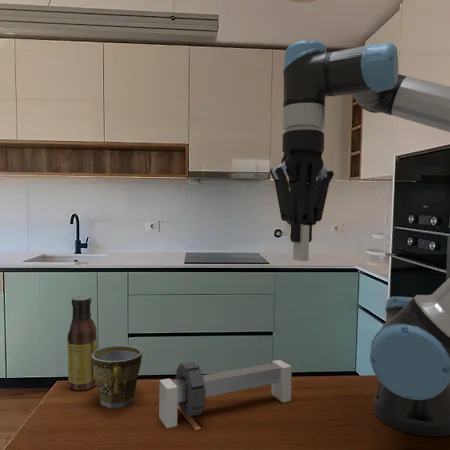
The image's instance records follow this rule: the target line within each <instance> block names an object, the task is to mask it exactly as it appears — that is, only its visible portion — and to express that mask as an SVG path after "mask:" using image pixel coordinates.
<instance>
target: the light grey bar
mask: <svg viewBox="0 0 450 450" xmlns="http://www.w3.org/2000/svg"><path fill="white" fill-rule="evenodd" d="M202 376H203V379H204V383H205V386H204V388H205V389H206V398H208V397H213V396H219V395H224V394H228V393H233V392H239V391H244V390H249V389H254V388H258V387H264V386H269V385H270V386H271V385H272V384H275V383H280V382H281V377H282V368H281V367H279V366H278V365H276V364H274V363H272V362H271V363H267V364H260V365H254V366H250V367H249V366H248V367H243V368H237V369H231V370H225V371H221V372H215V373H208V374H204V375H203V374H202ZM171 380H172V382H173V383H174V384H175V385H176V386H177V387H178V392H177V404H179V402H183V401H189V389H188V385H187V381H186V378H183V379H178V380H176V379H174V380H173V379H171Z"/></svg>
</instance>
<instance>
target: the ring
mask: <svg viewBox="0 0 450 450" xmlns="http://www.w3.org/2000/svg"><path fill="white" fill-rule="evenodd" d="M175 372H176V373H175V380H178V379H183V378H186V381H187V385H188V389H189V401H183V402H178V406H179V407H181V411H182V412H183V413H184V414H185V416H186V417H189V416H191V417H193V416H197V415H201V414H202V412H203V411H204V410H205V408H206V407H205V406H206V398H207V397H206V389H205V388H204V386H205V383H204V379H203V376H202V375H203V373H202V369H201V368H200V366H199V365H198V364H197V363H196V362H195V361H188V362H183V363H179V366H178V367H177V369H176V371H175Z"/></svg>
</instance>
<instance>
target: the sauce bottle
mask: <svg viewBox="0 0 450 450" xmlns="http://www.w3.org/2000/svg"><path fill="white" fill-rule="evenodd" d="M91 305H92V297H91V296H89V295H81V296H79V295H78V296H73V297H72V298H71V306H72V316H71V317H72V319H71V324H70V328H69V330H68V333H67V335H66V336H67V337H66V338H67V339H66V340H67V370H68V371H67V373H68V374H67V377H68V382H69V383H68V384H69V387H70V388H71V389H72V390H75V391H85V390H91V389H92V388H95V387H96V386H98V385H97V379H96V376H95V372H94V367H93V361H92V354H93V353H94V352H95V351H97V350H98V337H97V326H96V323H95V322H94V320H93V319H92V314H91Z"/></svg>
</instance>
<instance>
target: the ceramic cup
mask: <svg viewBox="0 0 450 450" xmlns="http://www.w3.org/2000/svg"><path fill="white" fill-rule="evenodd" d="M142 358H143V350H142V349H141V348H140V347H137V346H133V345H123V344H121V345H111V346H106V347H101V348H99V349H97V351H95V352H94V353H93V354H92V361H93V367H94V372H95V376H96V379H97V385H96V386H97V391H98V397H99V402H100V405H101V406H102V407H104V408H108V409H112V410H113V409H123V408H125V407H127V406H129V405H131V404H132V403H133V402H134V399H135V396H136V395H135V393H136V388H137V383H138V382H137V381H138V378H139V377H138V376H139V373H140V369H141V365H142V364H141V363H142Z"/></svg>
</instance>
